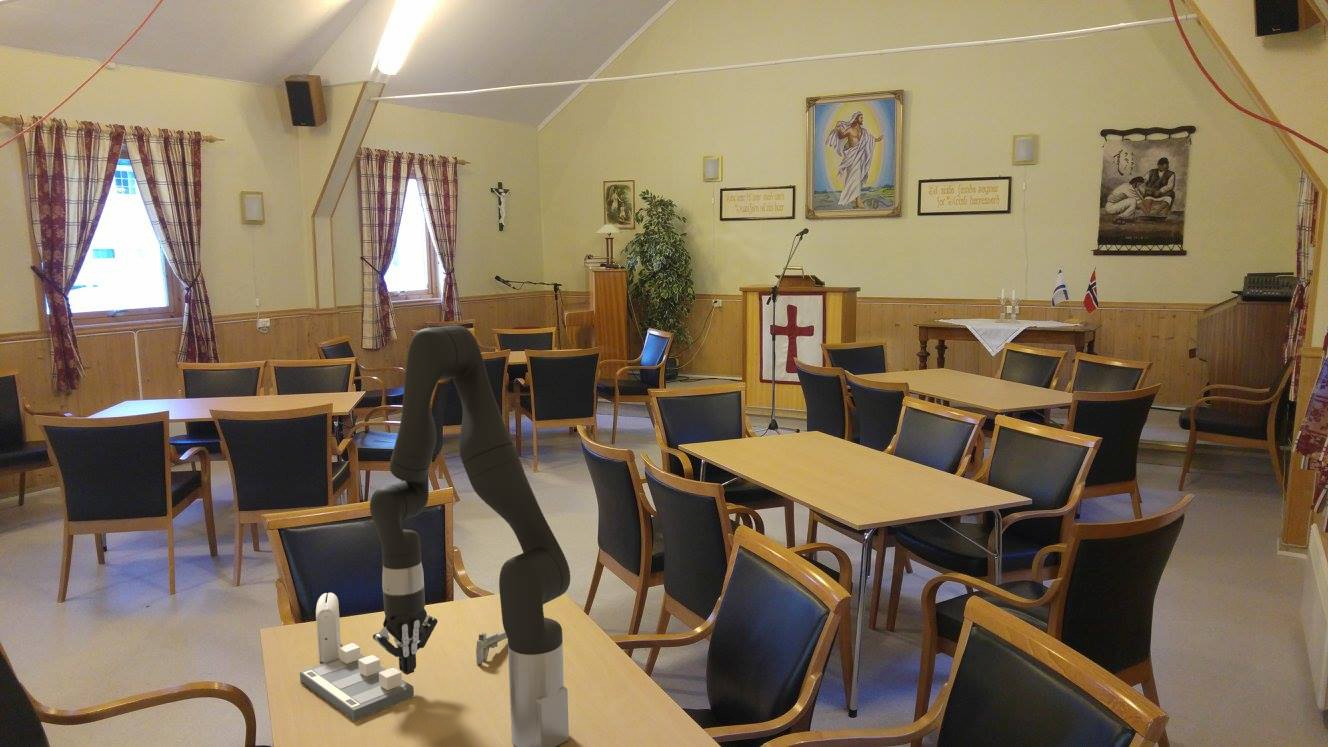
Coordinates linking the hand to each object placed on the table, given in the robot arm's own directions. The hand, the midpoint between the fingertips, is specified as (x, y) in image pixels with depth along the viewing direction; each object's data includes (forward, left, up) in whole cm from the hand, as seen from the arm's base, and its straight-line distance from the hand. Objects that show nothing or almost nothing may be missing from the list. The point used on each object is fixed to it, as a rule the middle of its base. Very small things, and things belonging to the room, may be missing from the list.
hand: (408, 672), depth 172 cm
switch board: (+8, +7, -4) cm, 11 cm away
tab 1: (+16, +4, -1) cm, 16 cm away
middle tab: (+8, +4, -1) cm, 9 cm away
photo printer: (+27, +3, -4) cm, 27 cm away
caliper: (+3, -24, -4) cm, 25 cm away
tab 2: (0, +4, -1) cm, 4 cm away
